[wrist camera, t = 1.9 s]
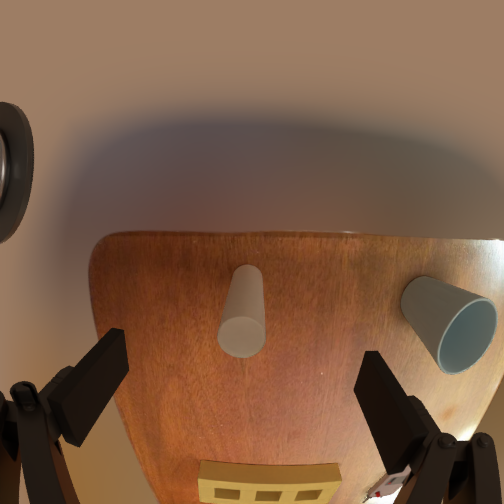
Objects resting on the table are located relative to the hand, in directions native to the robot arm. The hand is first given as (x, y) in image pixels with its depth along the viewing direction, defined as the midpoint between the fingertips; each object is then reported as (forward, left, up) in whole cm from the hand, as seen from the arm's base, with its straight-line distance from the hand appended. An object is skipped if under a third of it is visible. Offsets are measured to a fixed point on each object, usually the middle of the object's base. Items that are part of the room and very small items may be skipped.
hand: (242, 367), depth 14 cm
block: (+6, -35, -15) cm, 39 cm away
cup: (+20, -1, -15) cm, 25 cm away
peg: (0, 0, -15) cm, 15 cm away
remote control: (+31, -41, -16) cm, 54 cm away
